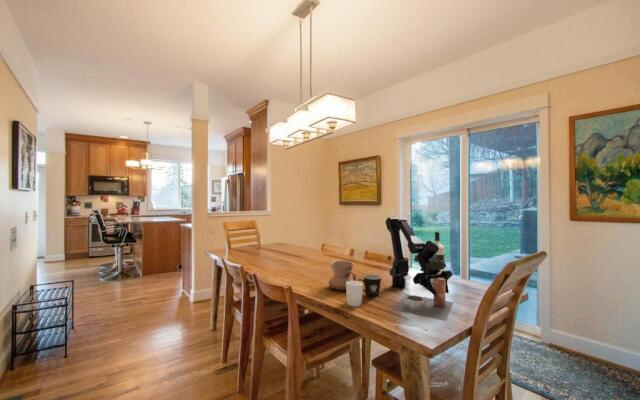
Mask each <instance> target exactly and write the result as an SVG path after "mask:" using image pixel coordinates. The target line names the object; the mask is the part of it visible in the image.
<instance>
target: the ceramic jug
mask: <svg viewBox="0 0 640 400" xmlns="http://www.w3.org/2000/svg"><path fill="white" fill-rule="evenodd" d="M353 266H354V263H353V262H352V261H350V260H334V261H331V263H330V268H331V271H332V272H333V275H334V276H332V277H331V278H330V279H329V280H328V285H329V287H330V288H331V289H333V290H336V291H341V292H342V291H346V282H347V281H357V274H356V272H355V271H354V270H353V269H354V267H353ZM351 274H352V277H351V276H350V275H351Z"/></svg>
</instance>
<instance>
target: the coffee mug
mask: <svg viewBox="0 0 640 400" xmlns="http://www.w3.org/2000/svg"><path fill="white" fill-rule="evenodd" d="M356 281H360V282H362V283H363V285H364V288H363V291H364V293H365V298H367V299H371V300H373V299H375V298H377V297H379V295H380V290H381V281H382V276H381V275H378V274H377V275H376V274H365V275H363V279H356Z"/></svg>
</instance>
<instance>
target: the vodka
mask: <svg viewBox="0 0 640 400" xmlns="http://www.w3.org/2000/svg"><path fill="white" fill-rule="evenodd" d="M433 243H434V244H436V245H437V246H438V247H439V250H438V252H437V253H436V254H435V255H434V257H433V258H431V259H430V260H431V262H434V263H435V262H439V261H442V260H444V261H445V246H444V245H443V244H441V243H440V231H434V242H433ZM442 271H445V268H444V269H441V270H440V272H439V273H438V274H440V273H441V272H442ZM430 280H431V284H432V285H434V279H430Z"/></svg>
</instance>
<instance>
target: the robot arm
mask: <svg viewBox="0 0 640 400" xmlns="http://www.w3.org/2000/svg"><path fill="white" fill-rule="evenodd" d="M385 225H386V229H387V231H388V232H389V233H390V236H391V244H392V251H393V257H394V258H393V261H392V264H391V265H392V267H391V269H390V270H389V276H391V277H392V279H391V280H392V281H391V285H390V286H391V287H392V288H395V289H396V288H397V289H404V288H405V287H406V286H407V281H406V280H407V279H406V277H407V276H408V274H409V271H410V266H409V260H407V259H406V258H405V257H404V254H403V253H404V252H403V246H402V240H401V234H400V232H402V234H403V236H404V238H405V239H406V241H407V248H408V250H409V252H410V253H411V254H417V255H414V259H413V261H414V262H417V263H418V265H419V267H420V269H419V270H420V272H417V273H416V274H415V276H414V277H413V278H412V281H413V283H414V285H420V286H422V287H423V288H425V289H426V290H428V291H429V292H430V293H431V294H432V295H433V296H434V295H436V292H435V290H434V285H433V283H431V280H430V279H434V278H443V279H445V280H446V292H445V294H449V292H450V291H449V285H448V280H450V278H452V276H453V275H454V274H453V273H452V271H451V270H449V269H448V270H445V268H446V267H447V264H446V262H445V259H444V260H442V261H439V262H435V263H434V262H431V260H430V259H431V258H433V257H434V255H435V254H436V253H437V252H438V250H439V247H438V246H437V245H436V244H434V243H435V242H432V241H431V240H426V242H425V243H424V241H423V240H422V239H420V238H419V237H417V236H416V234H415V232H414V231H413V229H412V228H411V226H410V224H409V223H408V220H407V218H399V217H397V216H394V217H389V216H388V217H387V219H386V220H385ZM441 269H444V271H442V272H441V273H440V274H438V273H439V272H440V270H441Z"/></svg>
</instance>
